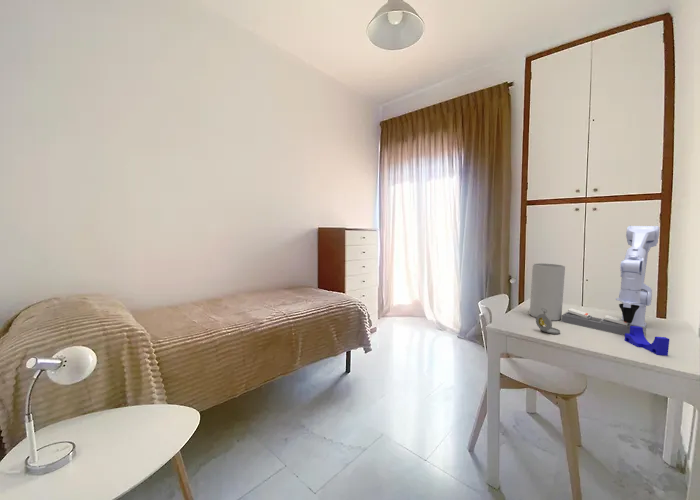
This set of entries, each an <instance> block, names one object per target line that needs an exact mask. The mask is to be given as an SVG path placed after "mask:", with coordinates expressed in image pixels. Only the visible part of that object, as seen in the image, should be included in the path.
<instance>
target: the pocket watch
mask: <svg viewBox="0 0 700 500" xmlns="http://www.w3.org/2000/svg"><path fill="white" fill-rule="evenodd" d="M542 309H544V308H542ZM542 309H541V310H542ZM545 310H546V309H545ZM545 310H544V311H543V310H542V311H543V312H544V314H539V315H538V316H537V317H536V318H535V323H536V326H537V327H538V328H539V329H540V331H542V332H544V333H547V334H552V335H558V334H560V333H561V330H560V329H558V328H557V327H556V328H555V327H553V322H552V321H551V319H550V318H549V316H547V315H546V314H545V313H546V311H547V310H546V311H545Z"/></svg>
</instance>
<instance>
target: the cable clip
mask: <svg viewBox="0 0 700 500" xmlns="http://www.w3.org/2000/svg"><path fill="white" fill-rule="evenodd" d="M623 341H625V342H626V343H628V344H630V345H632V346H635V347H637V348H643V349H645V350H647V351H649V352H651V353H652V354H654V355H656V356H666V357H668V355H669V347H670V338H668V337H665V336H663V337H662V336H654V340H653V341H652V342H649V341H648V340H647V338H646V335H645V336H644V334H643V328H642V327H639V326H630V334H627V333H625V335H624V340H623Z"/></svg>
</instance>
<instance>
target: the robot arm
mask: <svg viewBox="0 0 700 500" xmlns="http://www.w3.org/2000/svg"><path fill="white" fill-rule="evenodd" d="M625 237H626V242H627V245H628V246H630V247H628V248H627V250H626V253H625V255H624V258H623V259H622V260H621V261H620V264H619V265H620V266H619V269H620V278H621V281H620V289H619V294H618V297H616V298H615V300H616V301H619V302H620V303H619V304H618V307H619V309H620V311H621V319H623V320H624V321H625V322H627V323H631V324H632V325H637V326H642V327H647V322H646V312H647V311H646V310H647V307H649V306H651V305H652V300H653V289H652V287H650V285H647V284H646V283H645V279H646V278H645V277H646V272H647V271H646V270H647V263H648V255H649V252H650V251H651V248H654V247H657V244H658V243H659V237H660V226H658V225H649V226H648V225H628V226H627V228H626V234H625Z"/></svg>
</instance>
